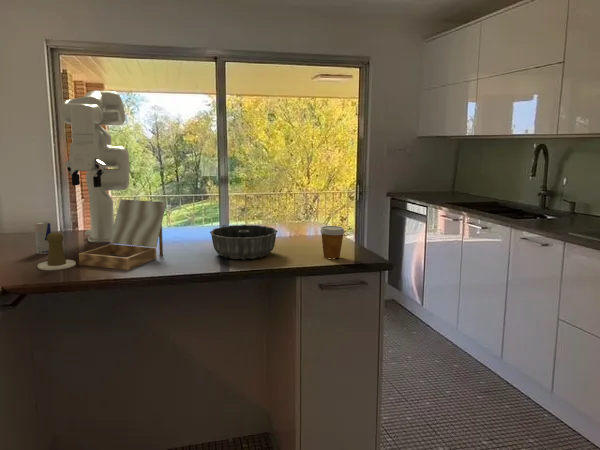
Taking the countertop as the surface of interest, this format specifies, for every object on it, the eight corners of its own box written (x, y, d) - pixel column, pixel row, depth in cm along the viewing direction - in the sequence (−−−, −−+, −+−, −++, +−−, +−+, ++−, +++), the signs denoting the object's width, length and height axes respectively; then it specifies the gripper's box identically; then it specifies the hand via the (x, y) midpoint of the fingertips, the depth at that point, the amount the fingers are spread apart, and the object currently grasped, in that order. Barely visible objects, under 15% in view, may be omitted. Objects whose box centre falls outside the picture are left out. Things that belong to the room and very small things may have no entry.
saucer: (29, 268, 167) (29, 266, 167) (56, 260, 179) (56, 258, 178) (57, 271, 164) (57, 269, 164) (83, 263, 175) (83, 261, 175)
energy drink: (55, 252, 191) (53, 222, 189) (44, 255, 186) (42, 224, 184) (45, 250, 193) (42, 221, 191) (33, 253, 188) (31, 223, 186)
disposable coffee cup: (346, 256, 193) (348, 227, 191) (338, 261, 184) (339, 230, 182) (324, 253, 197) (325, 224, 195) (315, 258, 188) (316, 228, 186)
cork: (51, 261, 174) (49, 231, 172) (69, 261, 174) (67, 231, 172) (44, 265, 168) (41, 234, 166) (62, 265, 168) (60, 235, 166)
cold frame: (79, 264, 174) (75, 207, 170) (123, 249, 198) (121, 199, 194) (127, 269, 168) (125, 210, 164) (167, 253, 192) (166, 201, 188)
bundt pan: (222, 266, 175) (222, 239, 173) (202, 251, 198) (201, 227, 196) (288, 259, 187) (288, 234, 185) (261, 245, 210) (261, 223, 208)
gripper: (56, 138, 174) (60, 185, 177) (95, 140, 168) (98, 189, 172) (72, 137, 181) (75, 183, 184) (110, 139, 175) (113, 186, 179)
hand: (86, 186), depth 178 cm, fingers open, 9 cm apart
